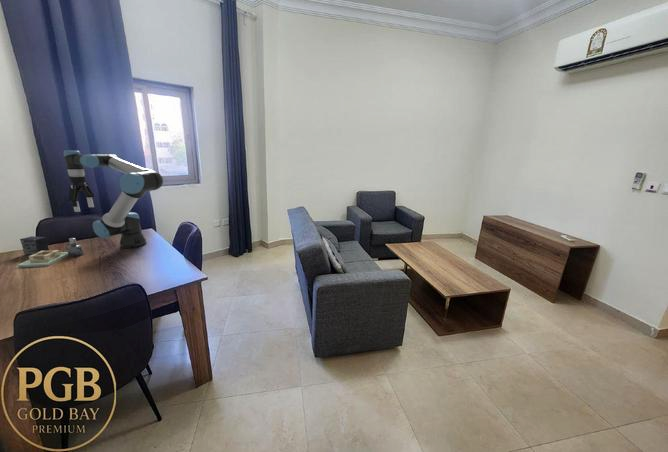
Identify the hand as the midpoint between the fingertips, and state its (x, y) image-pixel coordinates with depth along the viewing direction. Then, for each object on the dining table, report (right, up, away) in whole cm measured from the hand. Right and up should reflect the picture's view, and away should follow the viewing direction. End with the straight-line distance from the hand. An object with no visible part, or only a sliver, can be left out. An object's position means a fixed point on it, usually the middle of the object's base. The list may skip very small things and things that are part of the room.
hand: (84, 209), depth 173 cm
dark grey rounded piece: (-1, -29, -5) cm, 29 cm away
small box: (-26, -28, -4) cm, 39 cm away
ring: (-10, -31, -14) cm, 35 cm away
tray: (-10, -31, -14) cm, 36 cm away
